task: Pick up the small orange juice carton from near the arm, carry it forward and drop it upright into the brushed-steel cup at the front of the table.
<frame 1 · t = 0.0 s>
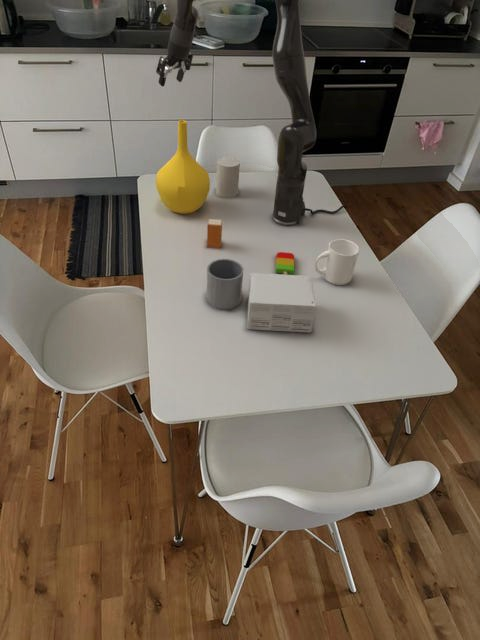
hand: (170, 82, 181), 31 cm above the table, tool tilted 20°, fingers open, 8 cm apart
popsicle: (284, 271, 152), on the table
steel cup: (223, 298, 140), on the table
vase: (183, 207, 177), on the table
mug: (331, 277, 151), on the table
supplement box: (278, 316, 136), on the table
cup: (226, 192, 188), on the table
juice carton: (214, 244, 160), on the table
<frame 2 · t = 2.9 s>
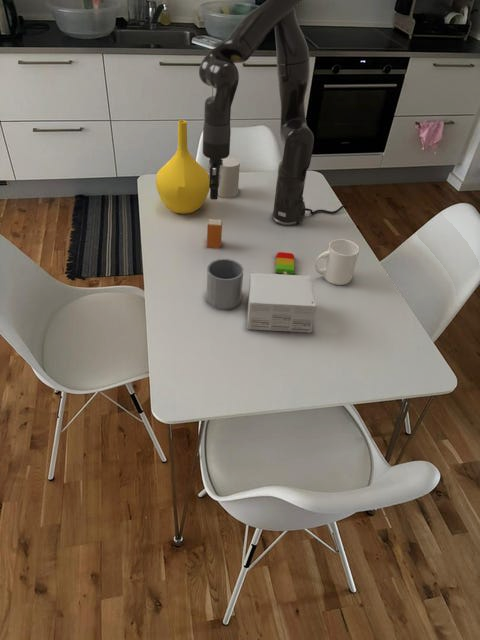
hand: (214, 192, 149), 18 cm above the table, tool pointing down, fingers open, 8 cm apart
nothing on the table moved.
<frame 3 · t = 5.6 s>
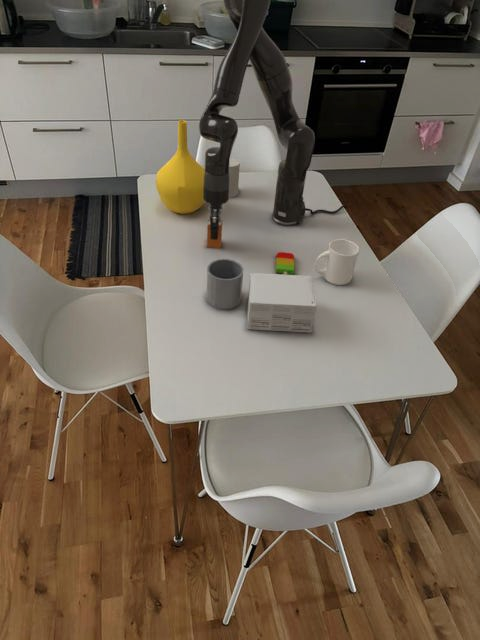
hand: (214, 235, 158), 3 cm above the table, tool pointing down, fingers closed on juice carton, 3 cm apart
juice carton: (214, 244, 161), on the table, touching gripper
everything else where it was.
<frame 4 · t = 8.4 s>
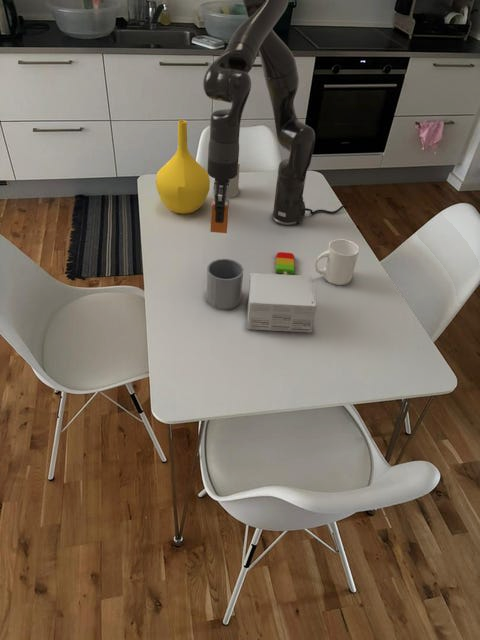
hand: (219, 218, 134), 20 cm above the table, tool pointing down, fingers closed on juice carton, 3 cm apart
juice carton: (218, 229, 137), point 16 cm above the table, touching gripper
everything else where it was.
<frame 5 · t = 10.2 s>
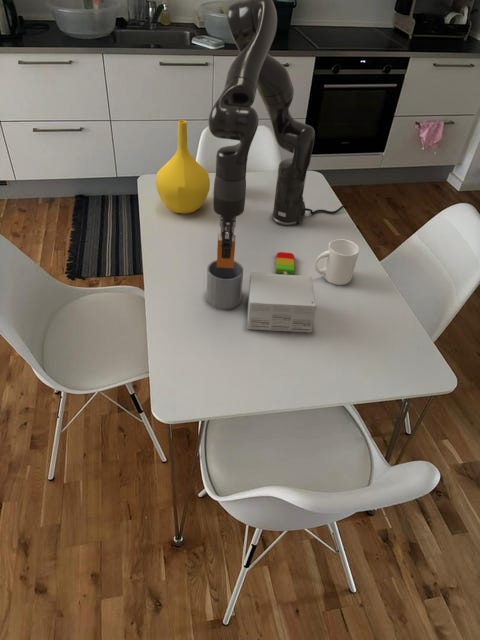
hand: (226, 253, 130), 15 cm above the table, tool pointing down, fingers closed on juice carton, 3 cm apart
juice carton: (225, 264, 133), point 12 cm above the table, touching gripper
everything else where it was.
when the fingers open (12 cm above the table, at t = 11.4 s): juice carton drops 8 cm, resting on steel cup.
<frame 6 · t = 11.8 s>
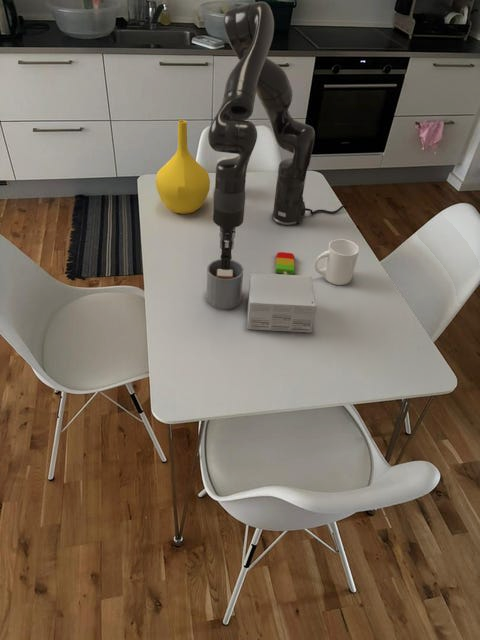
hand: (225, 261, 132), 13 cm above the table, tool pointing down, fingers open, 6 cm apart
juice carton: (223, 296, 140), point 1 cm above the table, touching steel cup
everything else where it was.
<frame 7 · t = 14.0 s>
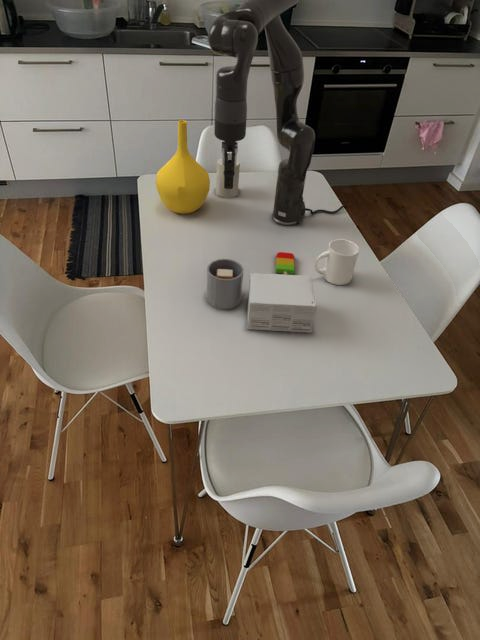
hand: (228, 180, 129), 30 cm above the table, tool pointing down, fingers open, 8 cm apart
nothing on the table moved.
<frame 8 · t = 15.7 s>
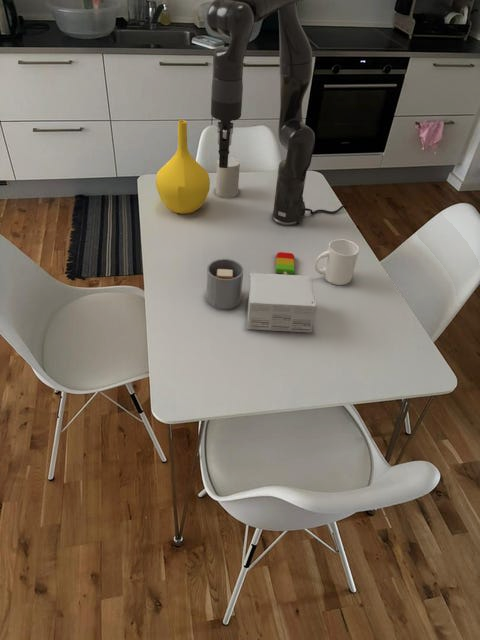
hand: (223, 160, 133), 32 cm above the table, tool pointing down, fingers open, 8 cm apart
nothing on the table moved.
at the end: juice carton inside the target area in the steel cup (0.1 cm from its centre), point 0.6 cm above the steel cup's base; the gripper is holding nothing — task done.
